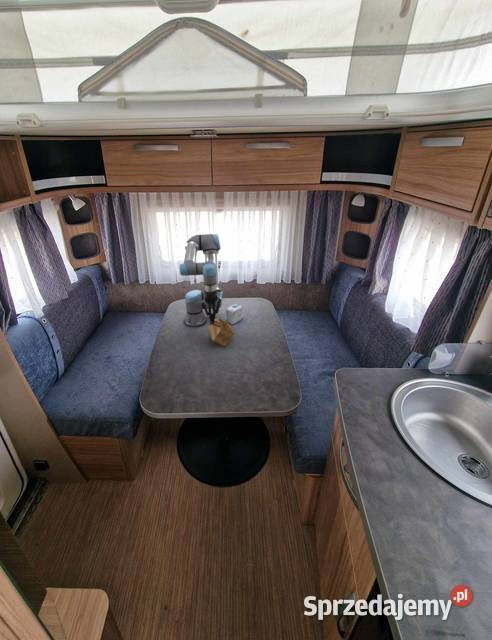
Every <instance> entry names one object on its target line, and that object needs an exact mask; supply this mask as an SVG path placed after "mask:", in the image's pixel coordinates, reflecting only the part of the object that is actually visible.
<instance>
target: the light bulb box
mask: <svg viewBox="0 0 492 640" xmlns="http://www.w3.org/2000/svg"><path fill="white" fill-rule="evenodd" d="M225 314H226V315H225V316H226V317H225V319H226V322H227V323H228V324H231V325H235V324H236V323H237V322H240V321H241V320H243V306H242V305H240V304H238V303H234V304H232V305H230V306H229V307H227V308H226V309H225Z"/></svg>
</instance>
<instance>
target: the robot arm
mask: <svg viewBox="0 0 492 640" xmlns="http://www.w3.org/2000/svg"><path fill="white" fill-rule="evenodd" d="M184 249H185V250H184V251H185V254H184V260H183V263H179V268H178V269H179V275H180V276H182V277H188V276H202V277H203V290H204V292H202V291H201V290H199V289H193V290H190V291H188V292H187V293H186V294H185V296H184V302H185V308H186V309H185V310H186V315H185V318H184V323H185V325H187V326H189V327H199V326H202V325H204V324H205V323H206V321H207V319H206V318H207V317H209V319H210V320H212V322H213V323H214V320H215V318H216V317H217V316H216V315H217V314H219V312H220V309H221V308H222V306H223V296H224V295H223V294H224V292H223V291H222V290H221V288H220V287H219V272H218V254H219V253H220V251H221V242H220V237H219V235H218V234H217V233H207V234H195V235H192V236H191V237H189V238H188V239H187V240H186V242H185V244H184ZM198 252H202V254H203V255H204V262H197V256H198ZM203 310H204V311H203ZM204 312H205V313H204ZM205 314H206V315H205ZM206 316H207V317H206ZM212 325H213V324H212Z"/></svg>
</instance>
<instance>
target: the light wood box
mask: <svg viewBox="0 0 492 640" xmlns="http://www.w3.org/2000/svg"><path fill="white" fill-rule="evenodd" d="M206 318H207V319H206V320H207V321H208V322H209V324H210V325H209V326H208V328H207V329H206V331H207V333H208V335H209V337H210V340H211V341H212V342H214V343H215V344H217V345H221V346H222V347H226V346H227V344H228V343H229V342H230V340H231V339H232V337H234V335H235V331H234V329H233V328H232V327H231V325H230V323H229V322H227V321H225V320H224V319H221V318H219V317H217V316H216V318H215V319H214V323H213V322H212V320H210V319H209V316H207V317H206ZM212 324H213V325H212Z"/></svg>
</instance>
